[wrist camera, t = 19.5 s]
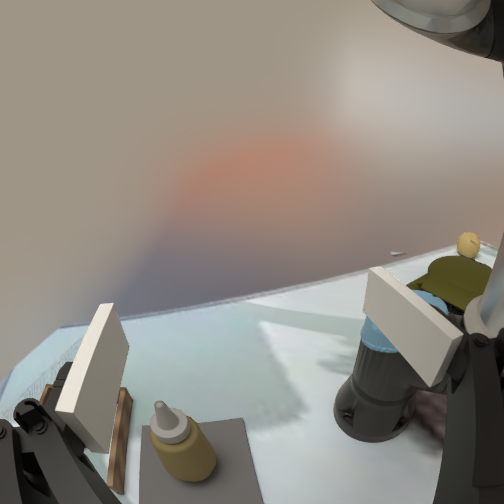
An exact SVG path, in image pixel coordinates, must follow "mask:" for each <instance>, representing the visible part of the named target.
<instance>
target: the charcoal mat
mask: <svg viewBox="0 0 504 504" xmlns="http://www.w3.org/2000/svg"><path fill="white" fill-rule="evenodd" d="M197 424H198V426H199V427H200V429H201V430H202V432H203V434H204V435H205V437H206V438H207V440H208V441H209V443H210V444H211V446H212V447H213V449H214V451H215V454H216V465H215V467H214V468H213V470H212V472H211V474H210V476H209V477H207V478H206V479H204V480H202V481H198V482H189V481H183V480H180V479H177V478H175V477H173V476H171V475H170V474H169V473H168V472H167V470H166V469H165V468H164V466H163V464H162V462H161V461H160V459H159V457H158V455H157V453H156V451H155V449H154V447H153V445H152V443H151V439H150V435H149V434H150V430H151V427H150V426H142V438H141V454H140V478H139V504H263V502H262V498H261V494H260V490H259V486H258V482H257V478H256V474H255V470H254V466H253V462H252V458H251V454H250V449H249V445H248V440H247V436H246V432H245V427H244V422H243V418H237V419H230V420H222V421H214V422H205V423H197Z"/></svg>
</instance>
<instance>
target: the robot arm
mask: <svg viewBox="0 0 504 504" xmlns="http://www.w3.org/2000/svg"><path fill="white" fill-rule="evenodd" d="M371 1H372V2H373V3H374V4H375V5H376V6H377V7H378V8H379V9H381V10H382V11H383V12H384V13H385V14H387V15H388V16H389V17H391V18H392V19H393V20H395V21H397V22H399V23H400V24H402V25H403V26H405V27H407V28H409V29H411V30H413V31H414V32H416V33H419V34H421V35H423V36H426V37H427V38H430V39H432V40H434V41H436V42H439V43H441V44H443V45H446V46H449V47H451V48H453V49H457V50H460V51H463V52H466V53H469V54H472V55H476V56H480V57H484V58H488V59H493V60H496V61H499V62H501V63H502V67H503V76H504V0H371ZM363 312H364V313H365V314H366V315H367V316H366V320H365V323H364V326H363V327H362V330H361V341H360V346H359V350H358V354H357V358H356V362H355V366H354V370H353V373H352V375H351V376H350V377H349V378H348V379H347V381H346V382H345V383H344V384H343V385H342V387H341V388H340V389H339V391H338V393H337V396H336V399H335V403H334V416H335V419H336V422H337V424H338V425H339V427H340V428H341V429H342V430H343V431H344V432H345V433H346V434H348V435H349V436H351V437H353V438H355V439H358V440H361V441H365V442H381V441H385V440H389V439H391V438H393V437H395V436H397V435H398V434H399V433H401V432H402V431H403V430H404V428H405V427H406V426H407V424H408V423H409V421H410V419H411V418H412V415H413V413H414V408H415V397H416V390H417V389H419V390H424V391H429V392H434V393H439V394H444V395H447V415H446V429H445V439H444V448H443V455H442V462H441V468H440V474H439V479H438V484H437V488H436V493H435V497H434V501H433V504H504V233H503V236H502V240H501V244H500V247H499V250H498V254H497V257H496V260H495V263H494V266H493V269H492V272H491V275H490V277H489V280H488V283H487V285H486V288H485V290H484V293H483V295H480V296H478V297H476V298H474V299H473V300H472V301H471V302H470V303H469V304H468V306H467V308H466V310H465V312H464V314H463V316H461V315H456V314H450V313H448V309H447V306H446V304H445V303H444V302H443V301H442V300H441V299H440V298H439V297H433V294H431V293H428V292H425V291H420V290H411V289H409V288H408V287H407V286H405V285H404V284H403V283H402V282H400V281H399V280H398V279H396V278H395V277H394V276H393V275H391V274H390V273H389V272H387V271H386V270H385V269H383V268H382V267H381V266H379V267H373V268H369V273H368V281H367V288H366V294H365V300H364V306H363ZM129 347H130V346H129V344H128V341H127V339H126V336H125V333H124V331H123V328H122V325H121V322H120V320H119V317H118V314H117V311H116V308H115V305H114V303H110V304H100V306H99V308H98V310H97V312H96V314H95V316H94V318H93V320H92V322H91V324H90V326H89V328H88V330H87V333H86V335H85V337H84V339H83V341H82V343H81V346H80V348H79V350H78V352H77V355H76V357H75V359H74V362H66V363H65V364H64V365H63V366H62V368H61V369H60V370H59V372H58V374H57V377H56V380H55V382H54V384H53V388H52V389H51V391H50V394H49V396H48V399H47V401H46V404H45V407H44V408H43V407H42V405H41V404H40V403H39V401H38V400H36V399H34V398H27V399H24V400H22V401H21V402H20V403H18V405H17V406H16V407H15V410H14V413H13V417H14V420H15V421H16V422H17V423H18V424H19V425H20V427H13V426H12V425H11V424H10V423H9V421H7V420H5V419H0V504H122V503H121V502H120V501H119V500H118V499H117V497H116V496H115V495H114V494H113V492H112V491H111V490H110V488H109V487H108V486H107V484H106V483H105V482H104V480H103V479H102V478H101V476H100V475H99V473H98V472H97V471H96V469H95V468H94V466H93V465H92V463H91V462H90V460H89V459H88V457H87V456H86V455H85V454H84V446H86V447H87V448H88V449H89V450H90V451H91V452H95V453H104V454H109V448H110V441H111V434H112V428H113V422H114V416H115V411H116V405H117V400H118V395H119V390H120V385H121V381H122V376H123V372H124V367H125V363H126V359H127V355H128V351H129Z"/></svg>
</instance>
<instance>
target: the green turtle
mask: <svg viewBox="0 0 504 504" xmlns="http://www.w3.org/2000/svg"><path fill="white" fill-rule="evenodd" d="M491 272H492V268H490V267H489V266H487V265H486V264H482V263H480V262H477V261H475V260H474V259H472V258H468V257H463V256H445V257H441V258H438V259H436V260H434V261H433V262H432V263H431V264H430V265H429V267H428V273H427V274H425V275H423V276H422V277H420V278H418V279H416V280H414V281H413V282H411V283H409V284H407V285H406V286H407V287H408V288H409V289H411V290H420V291H422V290H425V291H426V292H428V293H431V294H433V295H434V296H436V297H439V298H440V299H441V300H443V301H445V302H447V303H449V304H451V305H452V306H454V307H456V308H458V309H460V310H461V311H463V312H465V310H466V308H467V306H468V304H469V303H470V302H471V301H472V300H473V299H474V298H476V297H478V296H480V295H483V293H484V290H485V288H486V285H487V283H488V280H489V277H490V275H491Z"/></svg>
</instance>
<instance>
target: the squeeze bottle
mask: <svg viewBox="0 0 504 504" xmlns="http://www.w3.org/2000/svg"><path fill="white" fill-rule="evenodd" d="M154 406H155V412H156V413H155V414H154V415H153V417H152V418H151V421H150V427H151V430H150V434H149V435H150V439H151V443H152V445H153V447H154V449H155V451H156V453H157V455H158V457H159V459H160V461H161V462H162V464H163V466H164V468H165V469H166V470H167V472H168V473H169V474H170V475H171V476H173V477H175V478H177V479H180V480H183V481H189V482H198V481H202V480H204V479H206V478H207V477H209V476H210V474H211V472H212V470H213V468H214V467H215V465H216V454H215V451H214V449H213V447H212V446H211V444H210V443H209V441H208V440H207V438H206V437H205V435H204V434H203V432H202V430H201V429H200V427H199V426H198V424H197V423H196V422H195V421H194V420H193V419H192V418H191V417H189V416H186V415H185V414H184V413H183V412H182V411H180V410H178V409H175V408H169V407H168V406H167V405H166V404H165V403H164V402H163V401H157V402H156V403H155V404H154Z"/></svg>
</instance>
